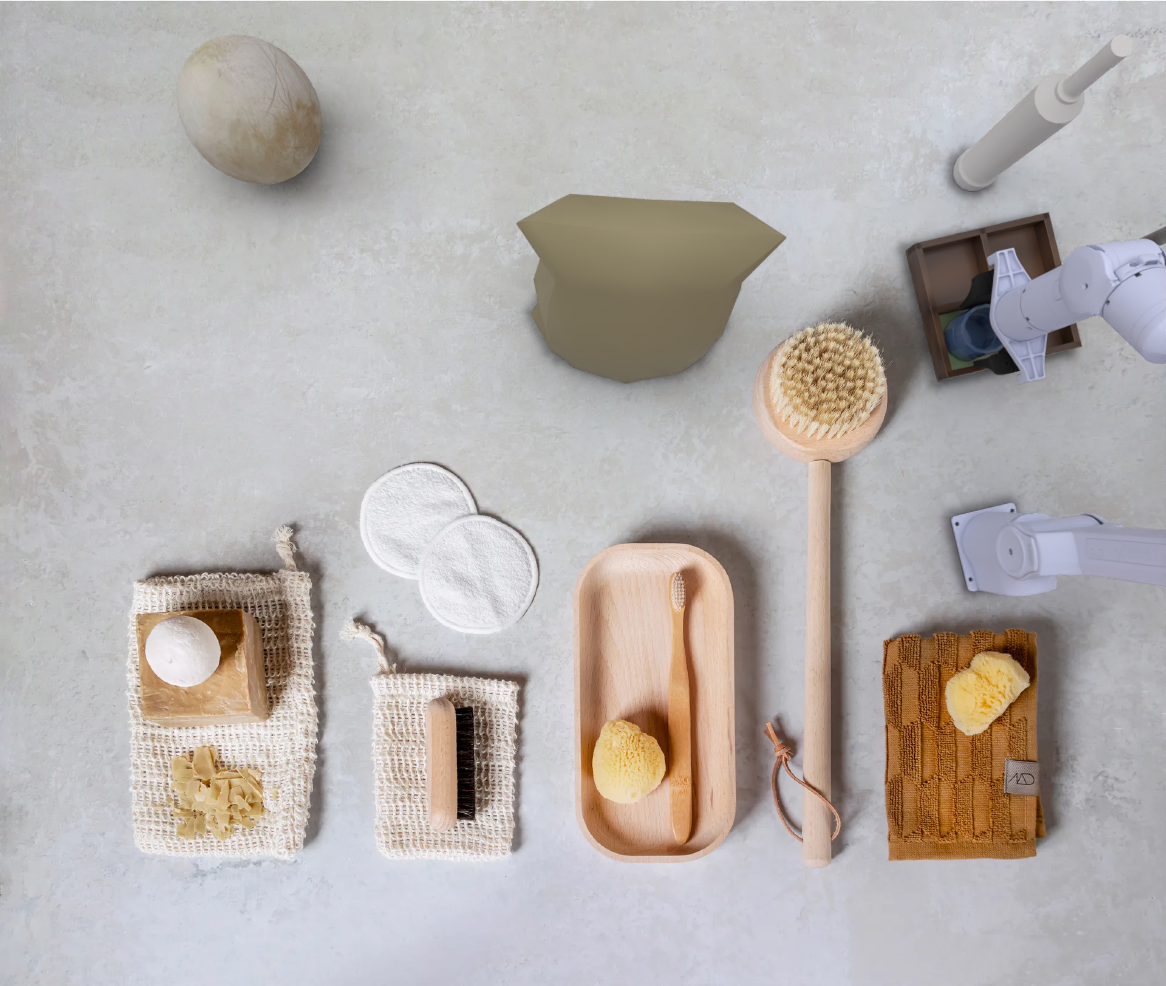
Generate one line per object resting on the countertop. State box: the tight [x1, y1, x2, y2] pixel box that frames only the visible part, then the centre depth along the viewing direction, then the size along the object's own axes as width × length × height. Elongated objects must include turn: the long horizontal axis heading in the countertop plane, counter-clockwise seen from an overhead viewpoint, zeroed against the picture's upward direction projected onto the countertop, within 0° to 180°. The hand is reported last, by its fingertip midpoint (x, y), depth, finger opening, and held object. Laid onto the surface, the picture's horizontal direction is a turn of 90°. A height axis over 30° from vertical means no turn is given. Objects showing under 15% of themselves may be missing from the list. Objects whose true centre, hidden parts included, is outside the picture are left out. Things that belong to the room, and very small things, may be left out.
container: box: [515, 193, 787, 384], centre depth 75 cm, size 24×17×30 cm
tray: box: [905, 211, 1166, 382], centre depth 79 cm, size 17×19×23 cm
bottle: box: [952, 34, 1134, 192], centre depth 78 cm, size 5×5×25 cm
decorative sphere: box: [176, 34, 323, 185], centre depth 82 cm, size 15×15×15 cm
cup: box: [945, 304, 1004, 361], centre depth 87 cm, size 6×6×4 cm
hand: (974, 334), depth 87 cm, fingers open, 6 cm apart
